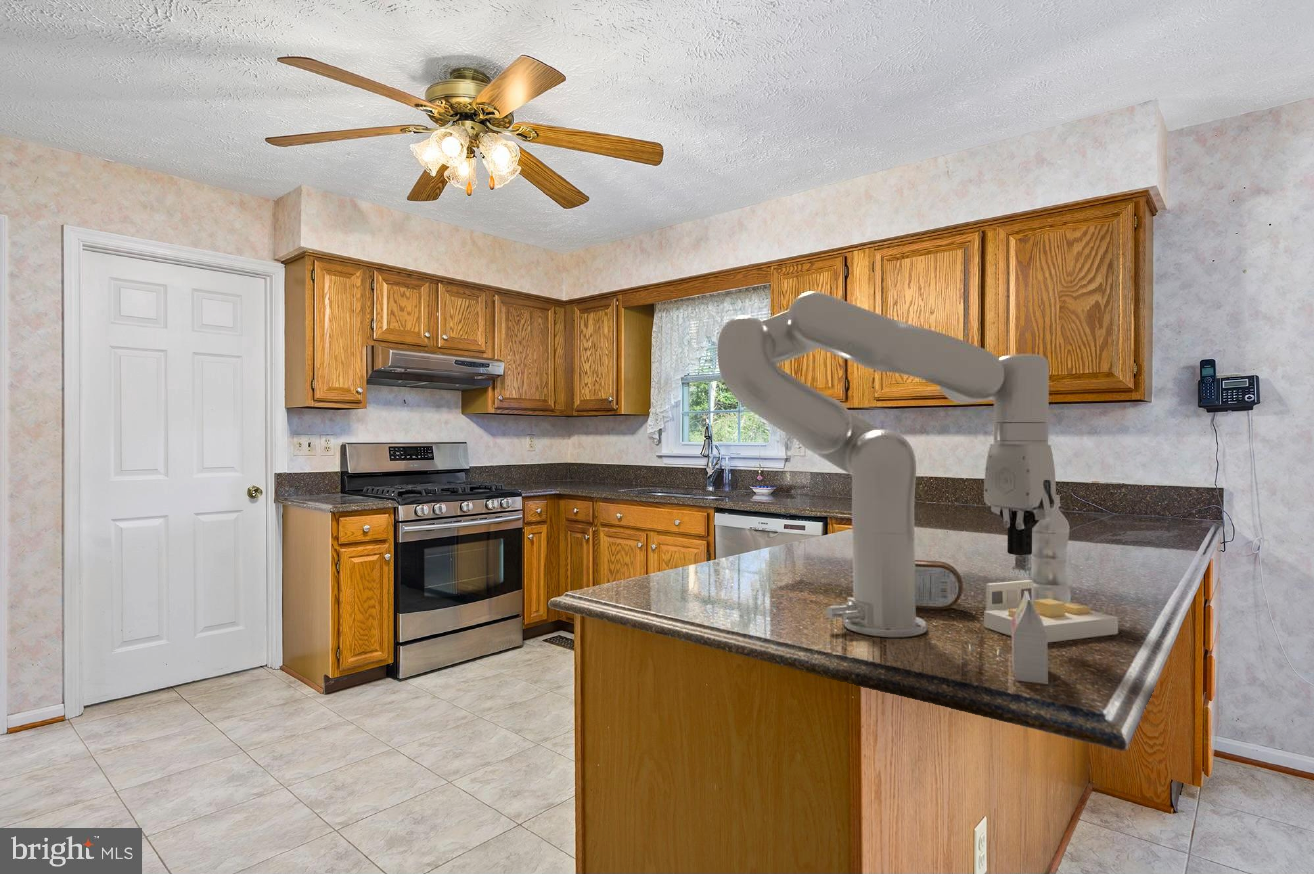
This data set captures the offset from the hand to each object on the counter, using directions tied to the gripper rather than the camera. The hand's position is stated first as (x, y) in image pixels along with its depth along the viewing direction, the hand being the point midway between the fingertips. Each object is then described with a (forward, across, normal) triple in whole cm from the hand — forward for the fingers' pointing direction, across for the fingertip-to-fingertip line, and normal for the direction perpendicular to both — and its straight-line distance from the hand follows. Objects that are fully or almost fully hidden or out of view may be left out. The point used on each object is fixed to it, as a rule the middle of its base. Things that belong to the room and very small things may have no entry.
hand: (1019, 553), depth 109 cm
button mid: (+11, 0, +6) cm, 12 cm away
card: (+12, -8, +6) cm, 15 cm away
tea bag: (+13, +15, -13) cm, 24 cm away
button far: (+12, 0, +11) cm, 16 cm away
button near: (+12, 0, +1) cm, 12 cm away
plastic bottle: (+12, -10, +16) cm, 22 cm away
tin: (+13, -20, -3) cm, 24 cm away
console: (+12, 0, +6) cm, 13 cm away
